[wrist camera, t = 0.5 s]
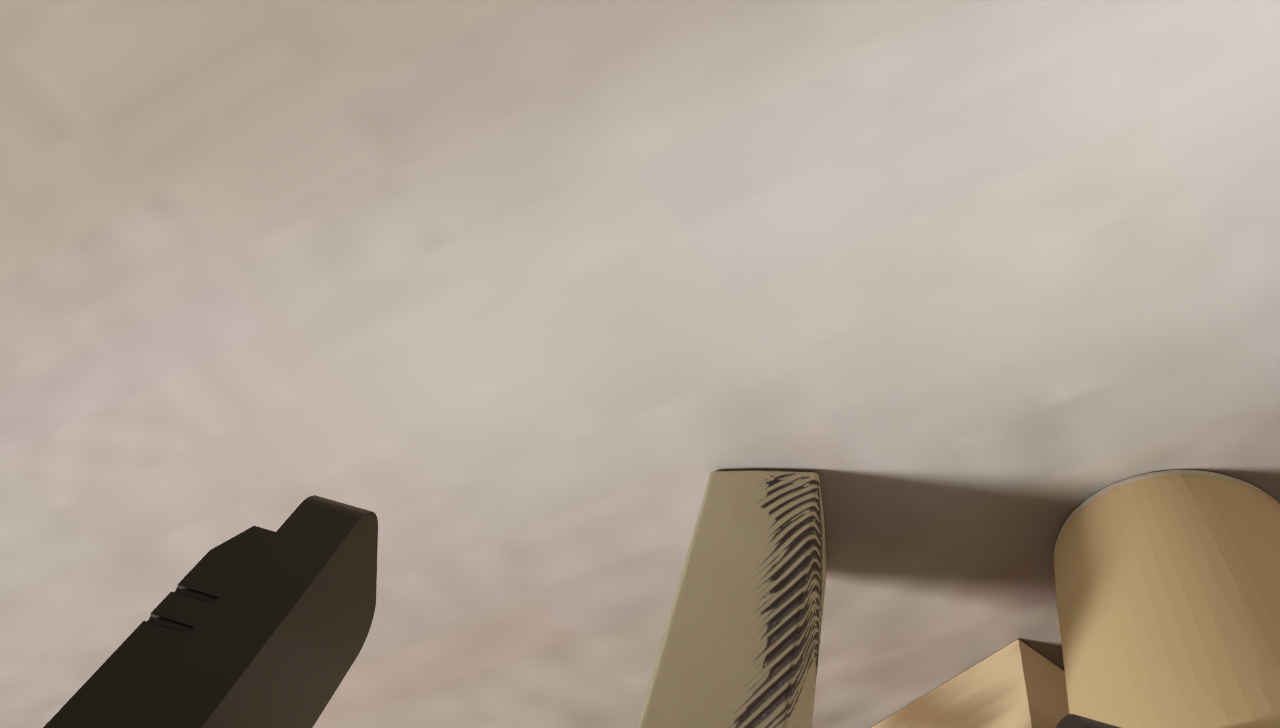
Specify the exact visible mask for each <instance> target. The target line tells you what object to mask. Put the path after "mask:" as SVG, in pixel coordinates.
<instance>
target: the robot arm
mask: <svg viewBox="0 0 1280 728" xmlns="http://www.w3.org/2000/svg"><path fill="white" fill-rule="evenodd" d="M377 540H378V520H377V516H376V514H375V513H374V512H372V511H368V510H365V509H361V508H357V507H354V506H350V505H347V504H343V503H340V502H336V501H333V500H329V499H326V498H322V497H319V496H315V495H314V496H310V497H308V498H307V499H305V500H304V501H303V502H302V503H301V504H300V505H299V506H298V508H297V509H296V510H295V511H294V512H293V513H292V514H291V516H290V517H289V518H288V519H287V520H286V521H285V523H284V524H283V525H282V526H281V527H280V528H279V529H278V531H277V532H274V531H270V530H267V529H263V528H260V527H256V526H253V527H251V528H249V529H248V530H246V531H244V532H242V533H240V534H239V535H237V536H235V537H233V538H231V539H230V540H228V541H226V542H224V543H222V544H221V545H219V546H217V547H215V548H213V549H212V550H210V551H209V552H208V553H207V554H206V555H205V556H204V557H203V558H202V559H201V560H200V562H199V563H198V564H197V565H196V566H195V567H194V568H193V569H192V570H191V571H190V572H189V573H188V574H187V575H186V576H185V577H184V579H183V580H182V581H181V582H180V583H179V584H178V587H177V589H176V591H175V592H170V593H169V595H168V596H167V597H166V598H165V599H164V600H163V601H162V602H161V603H160V604H159V605H158V606H157V607H156V608H155V609H154V610H153V612H152V613H151V616H150V618H149V620H148V621H147V622H146V621H143V622H142V623H141V624H140V625H139V626H138V627H137V629H136V630H135V631H134V632H133V633H132V634H131V635H130V636H129V637H128V638H127V639H126V640H125V641H124V642H123V643H122V644H121V646H120V647H119V648H118V649H117V650H116V651H115V652H114V653H113V654H112V655H111V656H110V657H109V658H108V659H107V660H106V662H105V663H104V664H103V665H102V666H101V667H100V668H99V669H98V670H97V671H96V672H95V673H94V674H93V675H92V676H91V677H90V679H89V680H88V681H87V682H86V683H85V684H84V685H83V686H82V687H81V688H80V689H79V690H78V691H77V692H76V693H75V694H74V696H73V697H72V698H71V699H70V700H69V701H68V702H67V703H66V704H65V705H64V706H63V707H62V708H61V709H60V710H59V712H58V713H57V714H56V715H55V716H54V717H53V718H52V719H51V720H50V721H49V722H48V723H47V724H46V725H45V726H44V727H43V728H312V727H313V726H314V724H315V723H316V721H317V719H318V718H319V716H320V715H321V713H322V711H323V710H324V708H325V707H326V705H327V704H328V702H329V700H330V699H331V697H332V696H333V694H334V692H335V691H336V689H337V688H338V686H339V684H340V683H341V681H342V680H343V678H344V677H345V675H346V673H347V672H348V670H349V669H350V667H351V665H352V664H353V662H354V661H355V659H356V657H357V656H358V654H359V652H360V650H361V648H362V646H363V644H364V642H365V640H366V637H367V635H368V632H369V629H370V626H371V623H372V620H373V616H374V611H375V605H376V578H377ZM1056 728H1121V727H1117V726H1114V725H1110V724H1107V723H1103V722H1100V721H1096V720H1093V719H1089V718H1086V717H1082V716H1079V715H1075V714H1068V715H1066V716H1065V717H1063V718H1062V719H1061V720H1060V722H1059V723H1058V725H1057V726H1056Z"/></svg>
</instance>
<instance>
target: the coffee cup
mask: <svg viewBox="0 0 1280 728" xmlns="http://www.w3.org/2000/svg"><path fill="white" fill-rule="evenodd" d="M1054 571H1055V586H1056V597H1057V606H1058V616H1059V625H1060V634H1061V643H1062V652H1063V662H1064V671H1065V680H1066V689H1067V697H1068V705H1069V714H1075V715H1079V716H1082V717H1086V718H1089V719H1093V720H1096V721H1100V722H1103V723H1107V724H1110V725H1114V726H1117V727H1121V728H1280V504H1279V503H1278V502H1277V501H1276V500H1275V499H1274V498H1272V497H1271V496H1270V495H1268V494H1267V493H1265V492H1264V491H1262V490H1261V489H1259V488H1257V487H1256V486H1254V485H1252V484H1249V483H1247V482H1245V481H1243V480H1240V479H1237V478H1234V477H1231V476H1227V475H1224V474H1220V473H1214V472H1209V471H1199V470H1167V471H1159V472H1152V473H1146V474H1142V475H1137V476H1133V477H1130V478H1127V479H1124V480H1122V481H1119V482H1116V483H1113V484H1111V485H1109V486H1107V487H1105V488H1103V489H1101V490H1100V491H1098V492H1097V493H1095V494H1094V495H1092V496H1091V497H1089V498H1087V499H1086V500H1085V501H1084V502H1083V503H1082V504H1080V505H1079V506H1078V507H1077V508H1076V509H1075V510H1074V511H1073V512H1072V513H1071V515H1070V516H1069V517H1068V519H1067V520H1066V521H1065V523H1064V525H1063V526H1062V528H1061V530H1060V533H1059V535H1058V538H1057V541H1056V545H1055V549H1054Z"/></svg>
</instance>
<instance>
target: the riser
mask: <svg viewBox="0 0 1280 728" xmlns="http://www.w3.org/2000/svg"><path fill="white" fill-rule="evenodd" d="M1068 714H1069V705H1068V697H1067V689H1066V680H1065V671H1063V670H1062V669H1061V668H1059V667H1058V666H1056V665H1055V664H1053V663H1052V662H1051V661H1049V660H1048V659H1046V658H1045V657H1043V656H1042V655H1040V654H1039V653H1038V652H1036V651H1035V650H1033V649H1032V648H1030V647H1029V646H1028V645H1026V644H1025V643H1023V642H1022V641H1020V640H1019V639H1018V640H1016V641H1014V642H1013V643H1011V644H1009V645H1008V646H1006V647H1004V648H1003V649H1001V650H999V651H998V652H996V653H994V654H993V655H991V656H989V657H988V658H986V659H984V660H983V661H981V662H979V663H978V664H976V665H974V666H973V667H971V668H969V669H968V670H966V671H964V672H963V673H961V674H959V675H958V676H956V677H954V678H953V679H951V680H949V681H948V682H946V683H944V684H943V685H941V686H940V687H938V688H936V689H935V690H933V691H931V692H930V693H928V694H926V695H925V696H923V697H921V698H920V699H918V700H916V701H915V702H913V703H911V704H910V705H908V706H906V707H905V708H903V709H901V710H900V711H898V712H896V713H895V714H893V715H891V716H890V717H888V718H886V719H885V720H883V721H881V722H880V723H878V724H876V725H875V726H873V727H871V728H1056V726H1057V725H1058V723H1059V722H1060V720H1061V719H1062V718H1063V717H1065V716H1066V715H1068Z"/></svg>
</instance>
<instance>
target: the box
mask: <svg viewBox="0 0 1280 728" xmlns="http://www.w3.org/2000/svg"><path fill="white" fill-rule="evenodd" d="M826 569H827V565H826V542H825V525H824V512H823V504H822V495H821V487H820V479H819V475H818V474H817V473H814V472H786V471H715V472H711V474H710V476H709V479H708V483H707V486H706V489H705V493H704V496H703V500H702V504H701V507H700V511H699V514H698V518H697V521H696V525H695V528H694V532H693V535H692V539H691V542H690V546H689V549H688V553H687V556H686V559H685V563H684V566H683V570H682V573H681V577H680V580H679V583H678V587H677V590H676V594H675V597H674V601H673V604H672V608H671V611H670V615H669V618H668V622H667V625H666V629H665V633H664V636H663V640H662V643H661V647H660V650H659V654H658V657H657V661H656V664H655V667H654V671H653V674H652V678H651V681H650V685H649V688H648V691H647V695H646V699H645V702H644V706H643V709H642V713H641V716H640V720H639V724H638V727H637V728H812V718H813V707H814V696H815V685H816V675H817V666H818V654H819V645H820V634H821V623H822V613H823V603H824V593H825V583H826Z"/></svg>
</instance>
